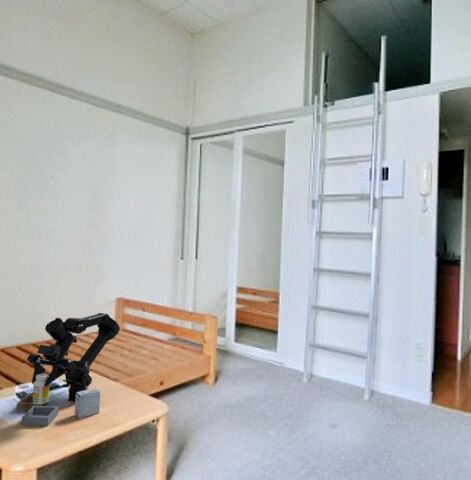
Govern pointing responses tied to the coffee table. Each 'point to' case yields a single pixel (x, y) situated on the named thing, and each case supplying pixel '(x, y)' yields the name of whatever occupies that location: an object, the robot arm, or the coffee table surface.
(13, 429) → the coffee table surface
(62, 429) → the coffee table surface
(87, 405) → the medicine box
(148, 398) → the coffee table surface
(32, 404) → the holder
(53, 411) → the tray
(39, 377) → the supplement bottle
